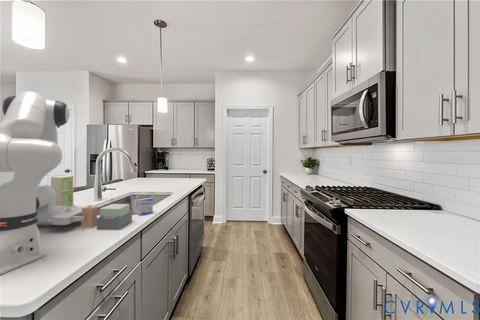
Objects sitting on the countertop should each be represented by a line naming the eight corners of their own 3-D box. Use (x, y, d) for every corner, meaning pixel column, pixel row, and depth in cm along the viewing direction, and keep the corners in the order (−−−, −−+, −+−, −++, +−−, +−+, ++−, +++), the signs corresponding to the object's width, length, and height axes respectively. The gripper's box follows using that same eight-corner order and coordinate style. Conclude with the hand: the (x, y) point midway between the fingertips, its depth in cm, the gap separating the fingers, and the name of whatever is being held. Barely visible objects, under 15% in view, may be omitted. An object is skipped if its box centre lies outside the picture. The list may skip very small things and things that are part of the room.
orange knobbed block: (91, 227, 113) (91, 206, 113) (81, 227, 113) (81, 206, 113) (97, 224, 118) (97, 204, 117) (87, 224, 117) (87, 204, 117)
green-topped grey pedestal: (119, 229, 111) (119, 209, 110) (96, 229, 110) (96, 209, 110) (131, 221, 125) (132, 203, 124) (111, 220, 124) (112, 203, 124)
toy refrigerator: (61, 216, 132) (61, 177, 131) (50, 215, 133) (50, 176, 133) (74, 212, 139) (74, 175, 139) (63, 211, 141) (63, 175, 140)
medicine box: (140, 215, 135) (140, 200, 135) (135, 214, 138) (135, 199, 138) (152, 213, 142) (153, 198, 141) (148, 212, 144) (148, 197, 144)
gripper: (43, 214, 104) (76, 214, 105) (74, 204, 125) (102, 204, 125) (43, 228, 104) (76, 229, 105) (74, 216, 125) (102, 216, 125)
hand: (90, 215), depth 115 cm, fingers open, 8 cm apart
